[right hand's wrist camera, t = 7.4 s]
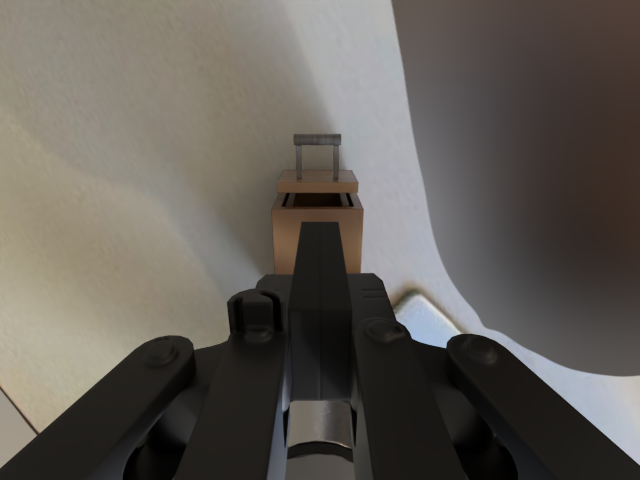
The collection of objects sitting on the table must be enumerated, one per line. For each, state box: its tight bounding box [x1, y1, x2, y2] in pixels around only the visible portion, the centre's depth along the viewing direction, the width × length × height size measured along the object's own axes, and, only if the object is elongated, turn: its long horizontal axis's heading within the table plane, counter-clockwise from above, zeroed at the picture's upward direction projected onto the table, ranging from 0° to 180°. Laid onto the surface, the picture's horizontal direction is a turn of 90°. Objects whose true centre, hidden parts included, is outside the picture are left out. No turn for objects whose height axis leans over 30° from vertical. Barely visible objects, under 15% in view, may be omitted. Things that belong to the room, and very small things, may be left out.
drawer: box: [277, 134, 358, 207], centre depth 45 cm, size 21×9×8 cm, turn 0°
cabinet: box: [272, 193, 364, 274], centre depth 47 cm, size 18×10×10 cm, turn 0°
